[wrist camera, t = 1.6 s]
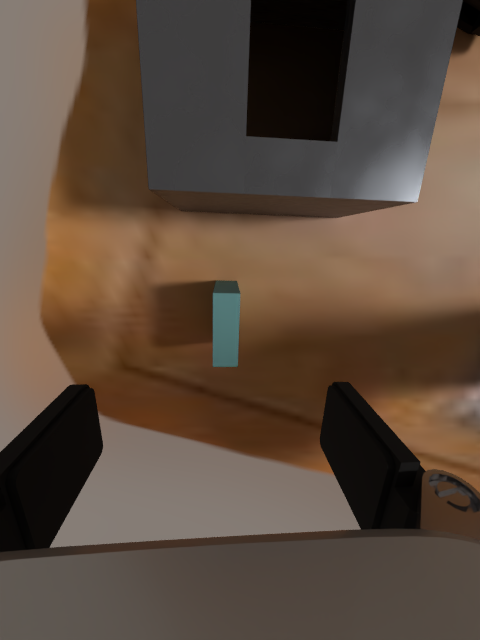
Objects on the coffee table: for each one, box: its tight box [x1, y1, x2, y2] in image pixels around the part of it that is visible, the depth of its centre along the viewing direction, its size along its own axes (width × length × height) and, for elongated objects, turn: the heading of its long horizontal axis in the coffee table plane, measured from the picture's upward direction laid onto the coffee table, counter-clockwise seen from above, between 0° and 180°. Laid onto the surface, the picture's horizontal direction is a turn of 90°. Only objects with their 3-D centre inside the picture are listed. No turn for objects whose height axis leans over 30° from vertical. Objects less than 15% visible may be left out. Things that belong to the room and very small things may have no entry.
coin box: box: [136, 0, 463, 218], centre depth 16 cm, size 14×14×10 cm
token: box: [213, 281, 240, 367], centre depth 22 cm, size 2×6×6 cm, turn 178°
